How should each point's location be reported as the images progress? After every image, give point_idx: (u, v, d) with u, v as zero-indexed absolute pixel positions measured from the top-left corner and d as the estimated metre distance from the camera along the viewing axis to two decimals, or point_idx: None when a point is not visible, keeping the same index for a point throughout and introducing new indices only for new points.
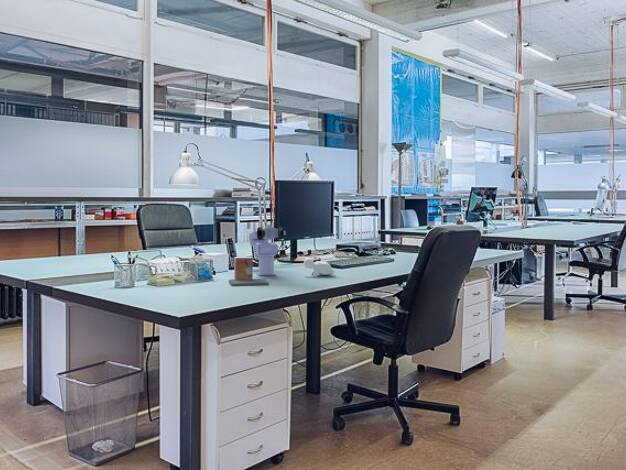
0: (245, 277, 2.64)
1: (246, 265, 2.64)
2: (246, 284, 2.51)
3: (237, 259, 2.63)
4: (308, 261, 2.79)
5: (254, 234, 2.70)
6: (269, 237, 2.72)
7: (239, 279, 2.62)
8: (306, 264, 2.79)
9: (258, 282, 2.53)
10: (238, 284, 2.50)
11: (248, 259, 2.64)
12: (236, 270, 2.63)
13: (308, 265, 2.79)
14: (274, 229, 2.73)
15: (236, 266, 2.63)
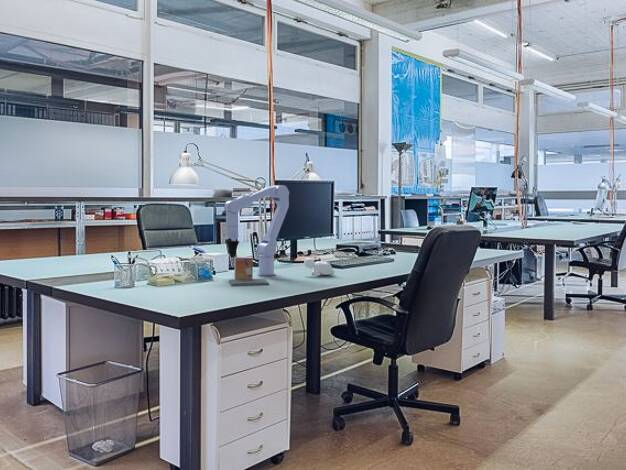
0: (245, 277, 2.64)
1: (246, 265, 2.64)
2: (246, 284, 2.51)
3: (237, 259, 2.63)
4: (308, 261, 2.79)
5: None
6: None
7: (239, 279, 2.62)
8: (306, 264, 2.79)
9: (258, 282, 2.53)
10: (238, 284, 2.50)
11: (248, 259, 2.64)
12: (236, 270, 2.63)
13: (308, 265, 2.79)
14: (229, 237, 2.72)
15: (236, 266, 2.63)
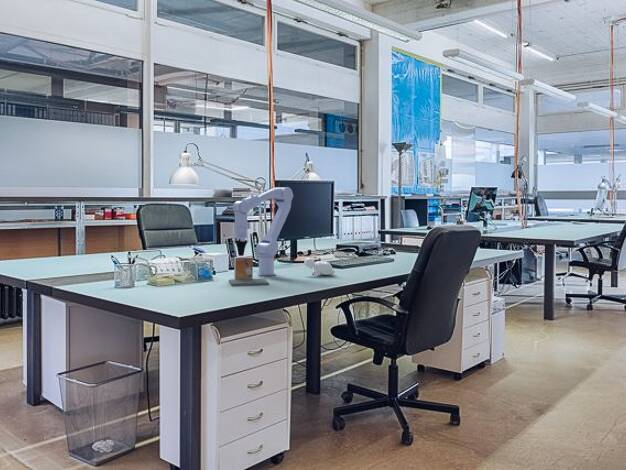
0: (245, 277, 2.64)
1: (246, 265, 2.64)
2: (246, 284, 2.51)
3: (237, 259, 2.63)
4: (309, 261, 2.79)
5: None
6: None
7: (239, 279, 2.62)
8: (307, 264, 2.79)
9: (258, 282, 2.53)
10: (238, 284, 2.50)
11: (248, 259, 2.64)
12: (236, 270, 2.63)
13: (309, 265, 2.79)
14: (237, 238, 2.71)
15: (236, 266, 2.63)
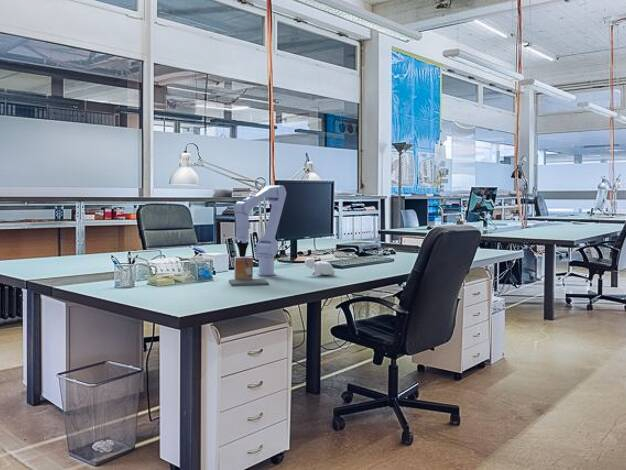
0: (245, 277, 2.64)
1: (246, 265, 2.63)
2: (246, 284, 2.51)
3: (237, 259, 2.62)
4: (309, 261, 2.79)
5: None
6: None
7: (239, 279, 2.62)
8: (307, 264, 2.79)
9: (258, 282, 2.53)
10: (238, 284, 2.50)
11: (249, 259, 2.63)
12: (236, 270, 2.63)
13: (309, 265, 2.79)
14: (239, 239, 2.66)
15: (236, 266, 2.63)
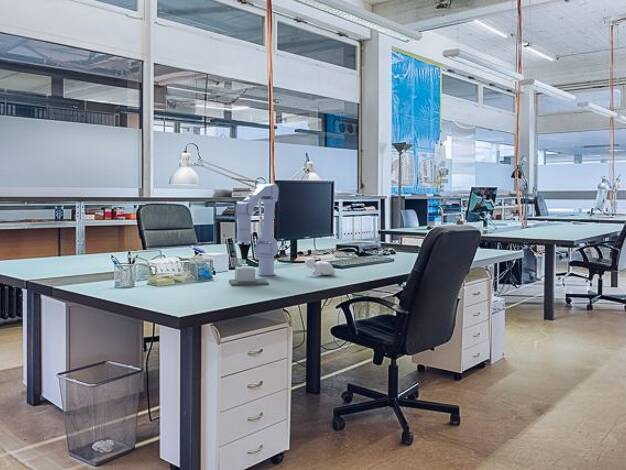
0: None
1: None
2: (246, 284, 2.51)
3: (239, 281, 2.54)
4: (309, 261, 2.79)
5: None
6: None
7: None
8: (307, 264, 2.79)
9: (258, 282, 2.53)
10: (238, 284, 2.50)
11: (251, 281, 2.56)
12: None
13: (309, 265, 2.79)
14: (241, 241, 2.59)
15: None
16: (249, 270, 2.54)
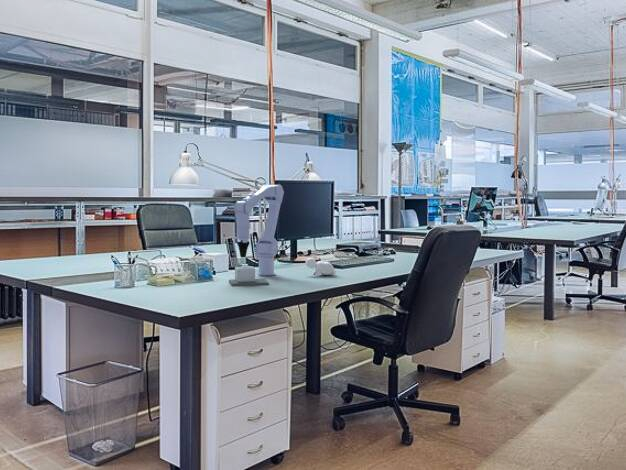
0: None
1: None
2: (246, 284, 2.51)
3: (239, 281, 2.54)
4: (310, 261, 2.79)
5: None
6: None
7: None
8: (308, 264, 2.79)
9: (258, 282, 2.53)
10: (238, 284, 2.50)
11: (251, 281, 2.56)
12: None
13: (310, 265, 2.79)
14: None
15: None
16: (249, 270, 2.54)
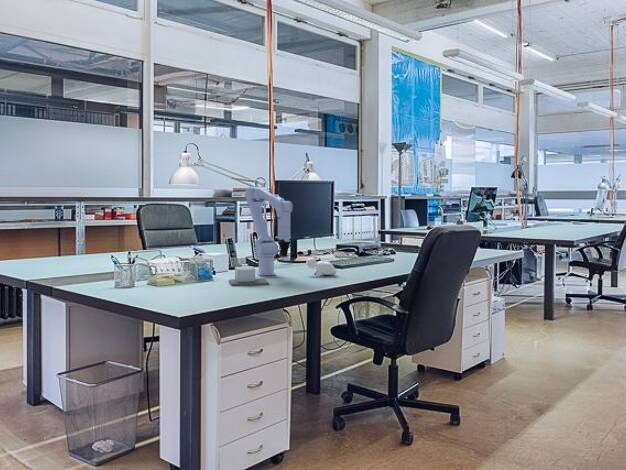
0: None
1: None
2: (246, 284, 2.51)
3: (239, 281, 2.54)
4: (310, 261, 2.79)
5: None
6: None
7: None
8: (308, 264, 2.79)
9: (258, 282, 2.53)
10: (238, 284, 2.50)
11: (251, 281, 2.56)
12: None
13: (310, 265, 2.79)
14: (281, 238, 2.68)
15: None
16: (249, 270, 2.54)
